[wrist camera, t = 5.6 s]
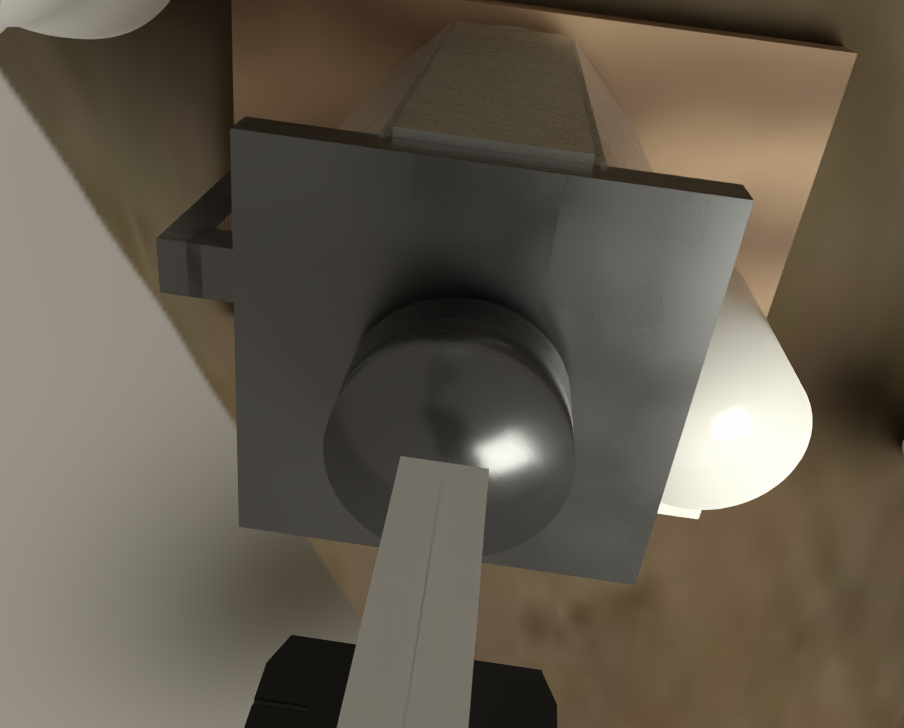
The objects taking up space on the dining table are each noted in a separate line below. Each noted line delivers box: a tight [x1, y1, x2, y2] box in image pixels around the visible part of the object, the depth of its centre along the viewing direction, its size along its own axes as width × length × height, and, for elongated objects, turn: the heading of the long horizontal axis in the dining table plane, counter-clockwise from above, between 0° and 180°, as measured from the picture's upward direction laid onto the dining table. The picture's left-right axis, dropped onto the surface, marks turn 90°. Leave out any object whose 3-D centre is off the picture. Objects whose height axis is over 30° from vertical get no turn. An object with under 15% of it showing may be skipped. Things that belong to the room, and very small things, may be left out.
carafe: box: [156, 21, 754, 585], centre depth 27 cm, size 11×14×18 cm
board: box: [231, 0, 857, 318], centre depth 36 cm, size 16×24×2 cm, turn 84°
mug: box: [657, 267, 812, 519], centre depth 34 cm, size 9×7×9 cm
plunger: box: [323, 297, 575, 557], centre depth 24 cm, size 8×8×18 cm
